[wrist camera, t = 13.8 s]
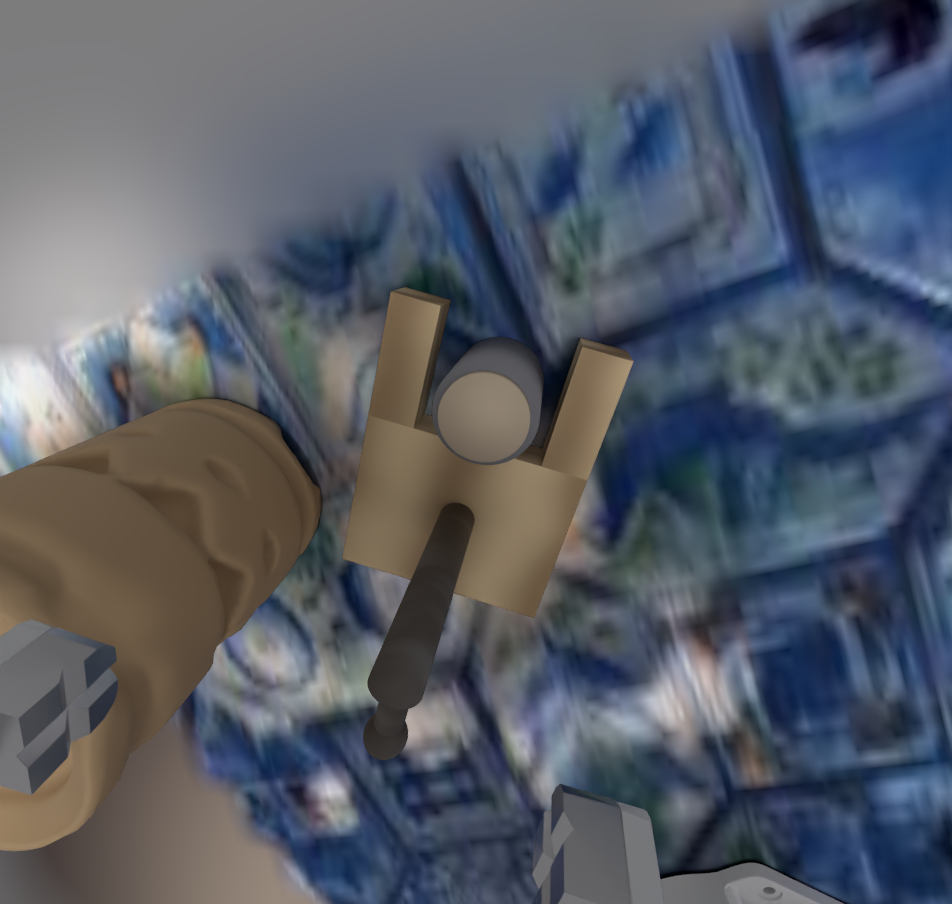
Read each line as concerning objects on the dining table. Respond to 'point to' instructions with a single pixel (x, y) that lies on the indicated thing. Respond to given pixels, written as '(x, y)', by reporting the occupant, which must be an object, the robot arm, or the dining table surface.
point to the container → (145, 572)
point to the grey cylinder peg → (490, 402)
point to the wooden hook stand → (460, 502)
